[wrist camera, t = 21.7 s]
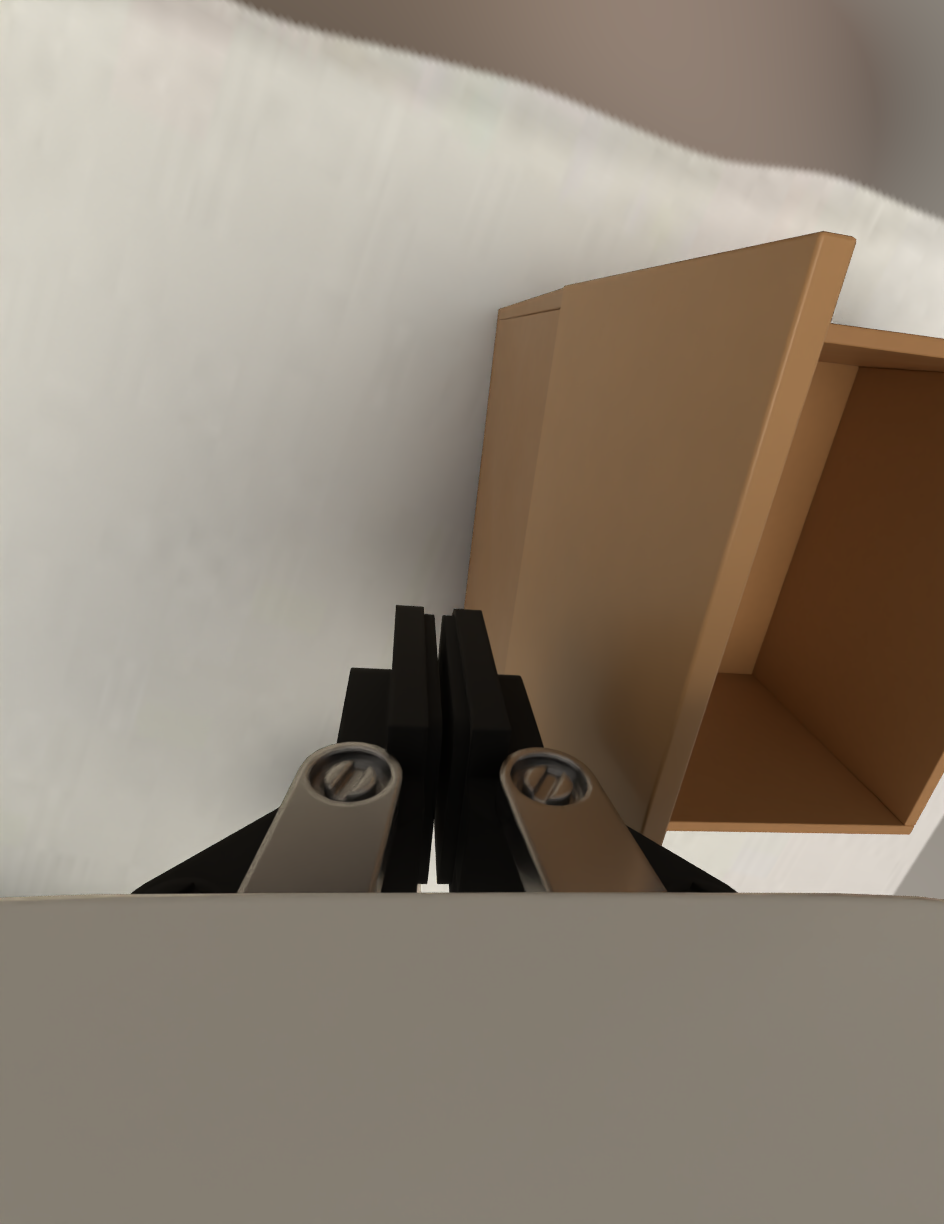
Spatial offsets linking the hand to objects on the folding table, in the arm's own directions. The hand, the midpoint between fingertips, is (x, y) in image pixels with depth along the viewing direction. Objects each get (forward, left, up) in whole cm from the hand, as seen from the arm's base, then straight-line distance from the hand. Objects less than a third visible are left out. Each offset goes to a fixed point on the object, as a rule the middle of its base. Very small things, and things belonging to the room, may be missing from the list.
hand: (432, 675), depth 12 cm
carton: (+10, 0, -14) cm, 17 cm away
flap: (+3, 0, +1) cm, 3 cm away
